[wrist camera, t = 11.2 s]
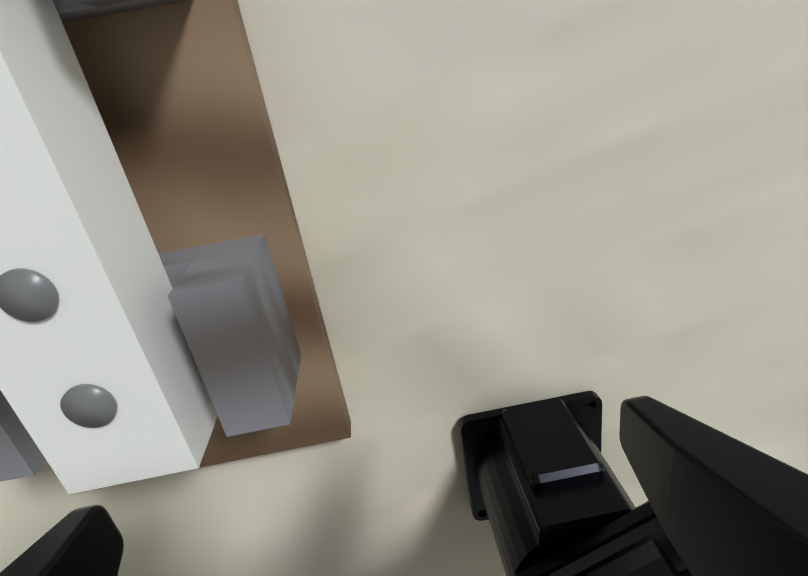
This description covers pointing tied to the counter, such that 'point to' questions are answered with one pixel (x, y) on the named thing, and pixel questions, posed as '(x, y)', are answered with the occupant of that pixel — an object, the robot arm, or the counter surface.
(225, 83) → the cradle board
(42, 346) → the white bar
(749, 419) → the counter surface
